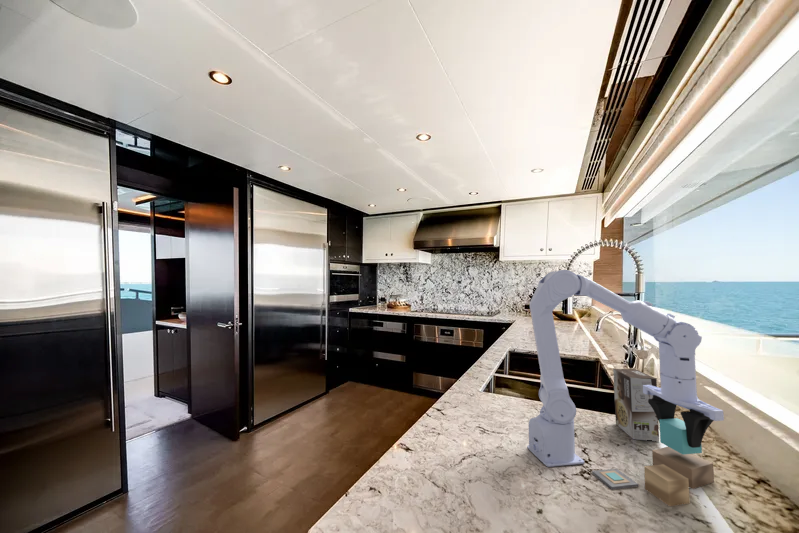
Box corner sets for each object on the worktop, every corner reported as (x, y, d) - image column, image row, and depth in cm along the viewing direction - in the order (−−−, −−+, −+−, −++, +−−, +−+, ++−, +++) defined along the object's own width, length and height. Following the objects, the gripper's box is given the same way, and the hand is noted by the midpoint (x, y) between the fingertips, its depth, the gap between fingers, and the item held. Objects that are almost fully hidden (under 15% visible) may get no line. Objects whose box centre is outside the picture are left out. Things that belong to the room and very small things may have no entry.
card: (612, 489, 58) (611, 485, 58) (592, 473, 63) (592, 469, 63) (638, 486, 59) (638, 482, 59) (616, 470, 64) (616, 467, 64)
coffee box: (660, 442, 75) (658, 378, 76) (632, 439, 77) (630, 377, 78) (639, 425, 84) (637, 368, 85) (614, 423, 86) (612, 367, 87)
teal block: (701, 452, 61) (700, 428, 61) (682, 454, 60) (681, 429, 61) (678, 441, 66) (677, 418, 66) (660, 442, 65) (659, 419, 65)
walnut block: (692, 490, 58) (691, 469, 59) (652, 469, 65) (652, 450, 65) (714, 483, 60) (713, 463, 61) (673, 463, 67) (672, 445, 67)
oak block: (669, 506, 54) (668, 481, 54) (645, 489, 58) (644, 466, 59) (689, 503, 54) (688, 478, 55) (664, 487, 59) (663, 464, 59)
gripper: (734, 386, 57) (739, 458, 57) (659, 365, 72) (662, 422, 71) (704, 388, 56) (708, 461, 56) (634, 366, 71) (636, 424, 70)
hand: (680, 439), depth 63 cm, fingers closed on teal block, 5 cm apart
